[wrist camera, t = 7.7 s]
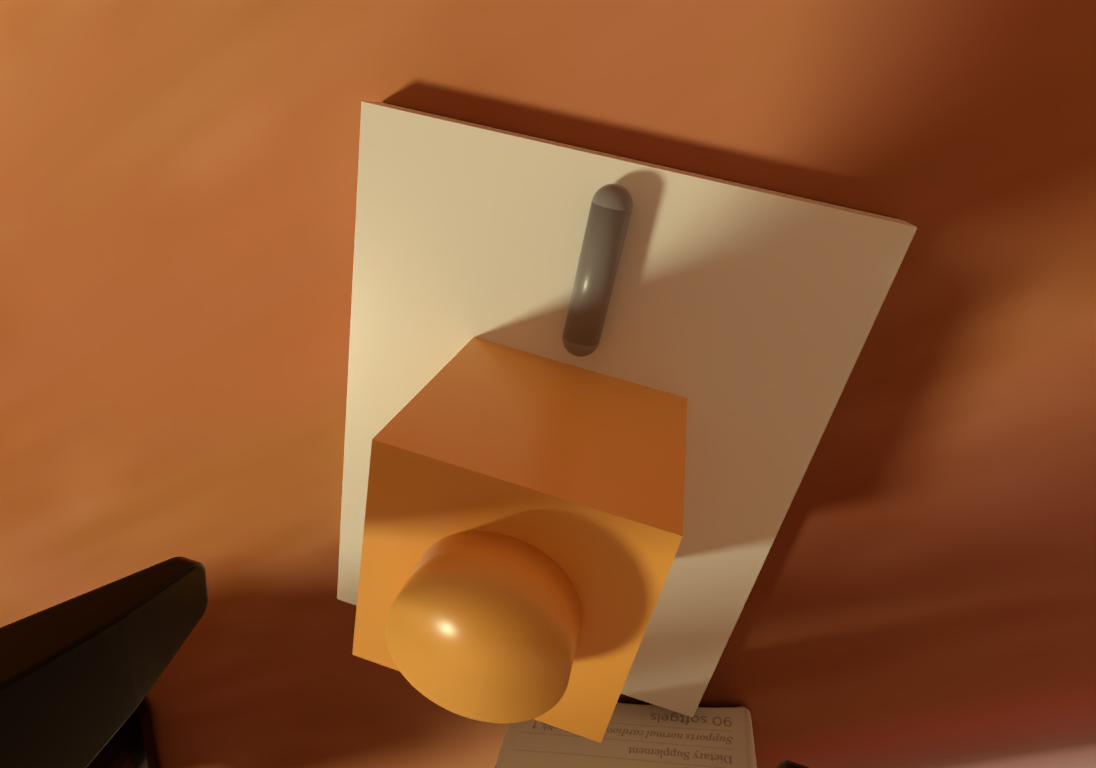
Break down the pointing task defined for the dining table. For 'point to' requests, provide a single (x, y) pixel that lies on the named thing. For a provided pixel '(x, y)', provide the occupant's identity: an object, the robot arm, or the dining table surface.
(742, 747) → the supplement box
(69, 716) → the robot arm
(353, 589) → the cream base plate
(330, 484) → the dining table surface
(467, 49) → the dining table surface
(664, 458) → the orange domed cube
